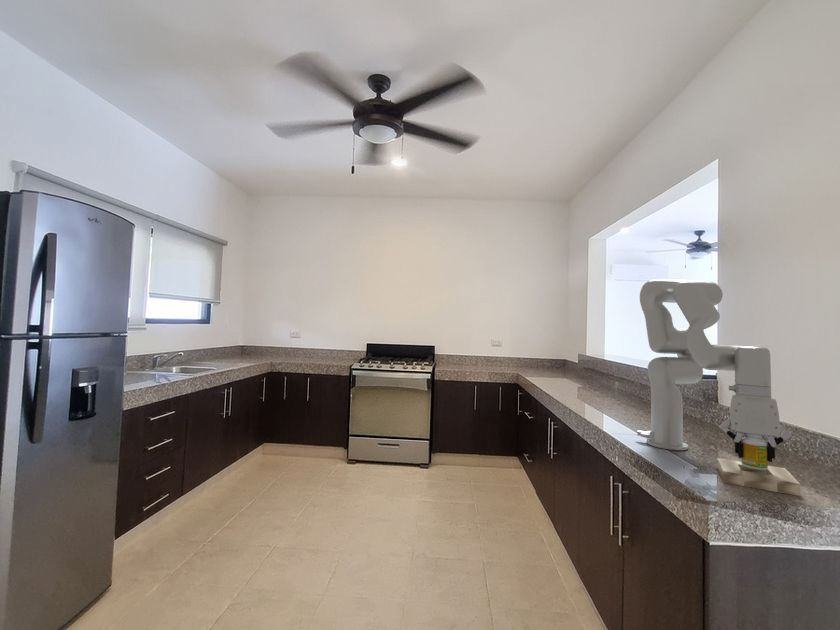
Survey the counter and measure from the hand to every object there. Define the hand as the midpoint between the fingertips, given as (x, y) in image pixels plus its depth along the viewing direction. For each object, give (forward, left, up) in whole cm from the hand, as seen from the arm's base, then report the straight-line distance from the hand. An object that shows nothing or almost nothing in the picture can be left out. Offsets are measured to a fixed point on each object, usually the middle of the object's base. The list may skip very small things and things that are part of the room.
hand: (754, 457), depth 105 cm
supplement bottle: (0, 0, -3) cm, 3 cm away
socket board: (0, 0, -6) cm, 6 cm away
